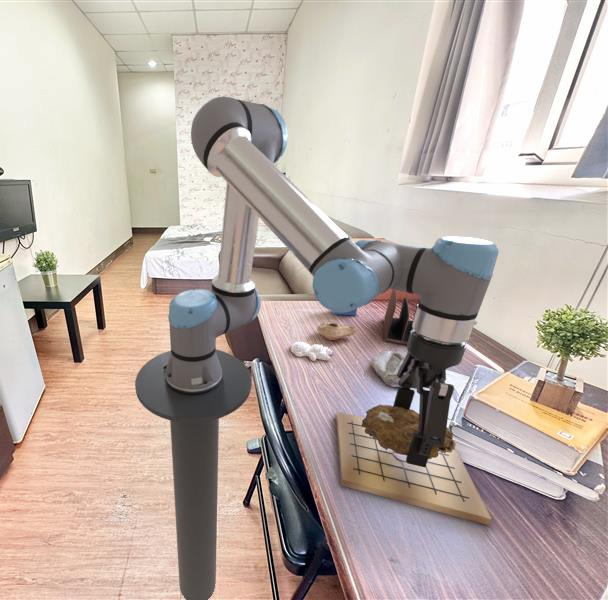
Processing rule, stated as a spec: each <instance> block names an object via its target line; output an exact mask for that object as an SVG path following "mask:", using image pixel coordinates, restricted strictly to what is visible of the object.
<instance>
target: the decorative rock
mask: <svg viewBox="0 0 608 600" xmlns="http://www.w3.org/2000/svg"><path fill="white" fill-rule="evenodd" d="M365 413H366V416H365V417H364V419H363V420H362V427H365V428H366V429H365V433H366V434H369V435H370V438H371V436H372V437H373V439H377V440H378V443H379V445H380V446H381V447H383V448H385V449H386V451H387V449H391V450H393V451H394V452H395V453H397V454H401V455H408V452H409V449H410V446H411V443H412V440H413V436H414V435H413V432H415V431H418V428H419V412H417V411H416V410H414V409H410V410H407V409H404V408H403V407H393V405H390V404H388V405H387V404H378V405H376V406H374V407H371V408H369V409H368V410H366V411H365ZM453 435H454V433H453V432H452V431H451V430H450V429H449V427H448V426H447V427H446V435H445V442H444V446H443V447H439V446H435V445H433V447H432V450H431V453H430V456H429V458H428V459H431V458H436V457H438V456H439V455H438V452H442V453H446V452H452V450H455V448H456V445H457V444H456V442H455V440H454V439H453V438H454V437H453Z"/></svg>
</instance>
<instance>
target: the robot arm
mask: <svg viewBox="0 0 608 600" xmlns="http://www.w3.org/2000/svg"><path fill="white" fill-rule="evenodd" d="M288 134H289V133H288V126H287V123H286V121H285V119H284V118H283V116H282V115H281V113H280V112H279V111H278V110H276V109H274V108H272V107H270V106H268V105H266V104H263V103H257V102H251V101H246V100H241V99H237V98H234V97H230V96H217V97H214V98H211V99H210V100H207V101H206V102H204V103H203V104H202V105H201V106H200V107H199V108H198V110H197V111H196V113H195V115H194V117H193V119H192V123H191V128H190V140H191V145H192V148H193V151H194V153H195V155H196V157H197V158H198V160H199V162H200V163H201V164H202V166H203V167H204V168H205V169H206V170H207V171H208V172H209V173H210V174H211V175H212V176H213V177H215V178H216V177H217V178H222V179H223V180H224V181H225V182H226V185H225V186H226V187H225V197H224V209H223V219H222V228H221V229H222V230H221V240H220V253H219V262H218V264H219V265H218V272H217V273H218V274H217V275H216V276H214V277H213V278H212V280H211V289H210V290H208V289H204V288H203V289H202V288H196V289H189V290H185V291H182V292H179V293H178V294H176V295H175V296H173V298H172V299H171V300H170V302H169V305H168V316H167V317H168V319H167V320H168V323H169V340H170V342H169V343H170V351H171V355H170V358H169V361H168V364H167V365H166V366H164V367H163V368H164V369H166V371H165V380H166V383H167V385H168V386H169V387H170V388H171V389H172V390H174V391H175V392H178V393H181V394H185V395H200V394H205V393H208V392H210V391H212V390H214V389H215V388H217V387H218V386H219V384H220V383H221V381H222V369H221V365H220V363H219V360H218V357H217V354H216V349H217V338H218V337H221V336H224V335H225V334H227V333H230V332H232V331H234V330H236V329H238V328H241V327H245V326H246V325H248V324H249V323H250V322H252V321H254V320H255V319H256V318H257V316H258V315H259V314H260V311H261V306H262V304H261V303H262V302H261V301H262V299H261V296H260V295H259V291H258V289H257V288H256V283H255V281H254V280H253V279H252V271H253V263H254V255H255V248H256V242H257V234H258V228H259V220H261V221H262V222H263V223H264V224H265V225H266V227H268V228H269V230H270V231H271V232H272V233H273V234H274V235H275V236H276V237H277V238H278V239H279V240H280V242H281V243H282V244H283V245H284V246H285V247H286V248H287V249H288V250H289V251H290V252H291V253H292V254H293V256H294V257H296V259H297V260H298V261H299V262H300V263H301V264H302V265H303V267H305V268H306V270H307V271H308V272H309V273H310V274H311V276H312V277H313V278H312V290H313V293H314V295H315V298H316V300H317V301H318V303H319V304H320V305H321V306H322V307H324V308H326V309H327V310H329V311H331V312H332V311H334V312H349V311H352V310H354V309H357V310H358V308H359V309H360V308H361V307H364V306H367V305H369V304H370V303H371V302H373V301H374V299H376V298H377V297H379V296H380V295H382V294H384V293H385V292H387V291H389V290H393V289H394V290H396V291H399V292H403V293H408V294H412V295H418V296H419V301H418V304H417V305H418V306H417V305H416V306H417V309H416V308H415V310H416V313H415V312H414V314H415V316H414V315H413V318H414V320H413V319H412V321H413V324H412V328H413V330H411V333H410V336H409V340H408V344H407V345H406V350H407V353H406V355H405V359H404V361H403V363H402V365H401V367H400V369H399V371H398V373H397V378H400V380H399V381H398V385H399V386H400V387H397V391H396V394H395V398H394V400H393V401H394V402H393V405H392V406H393V407H403V408H404V409H407V410H411V406H412V403H413V400H414V396H415V393H417V394H418V395H419V405H418V406H419V407H418V408H419V409H418V414H419V428H418V431H415V432H413V435H414V436H413V440H412V443H411V446H410V449H409V452H408V455H407V458H406V461H407V463H408V464H412V465H417V466H421V467H426V464H427V461H428V458H429V456H430V453H431V450H432V447H433V445H435V446H439V447H443V446H444V442H445V435H446V427H447V428H448V419H449V413H450V406H451V400H452V396H453V394H454V390H455V386H454V385H453V384H450V383H446V380H447V369H450V368H452V367H456V366H458V365H459V364H461V363H462V361H463V358H464V355H465V352H466V349H467V347H468V343H467V342H468V341H469V339H470V336H471V334H472V331H473V328H474V326H476V325H477V324H478V320H477V318H478V315H479V313H480V309H481V307H482V305H483V301H484V299H485V296H486V293H487V291H488V288H489V285H490V283H491V281H492V278H493V276H494V274H493V273H494V270H495V266H496V263H497V260H498V255H499V248H498V246H497V244H495V243H494V242H493V241H489V240H485V239H480V238H475V237H467V236H442V237H439V238H437V239H436V240H435V243H434V245H433V246H432V247H419V246H412V245H406V244H400V243H393V242H385V241H382V240H377V239H376V240H368V239H367V240H366V239H360V240H357V241H353V240H352V239H351V238H350V237H349V236H348V234H347V233H345V232H344V231H343V230H342V229H341V228H340V227H339V226H338V225H337V224H336V223H335V222H334V221H333V220H332V219H331V218H329V216H327V215H326V213H325V212H324V211H322V210H321V208H319V207H318V206H317V205H316V204H315V202H313V201H312V200H311V199H310V198H309V197H308V196H307V195H306V194H305V193H304V192H303V191H302V190H301V189H300V188H299V187H298V186H297V185H296V184H294V182H293V181H292V180H291V179H290V178H289V177H288V176H286V175H285V173H284V172H282V171H281V170H280V169H279V168H278V167H277V166H276V165H275V164H276V163H277V162H278V161H279V160H280V158H281V157H282V156H283V155H284V154H285V151H286V150H287V149H286V148H287V145H288V139H289V138H288V137H289V135H288ZM414 389H415V390H416V392H415V390H414ZM427 389H429V390H427Z"/></svg>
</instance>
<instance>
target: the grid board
mask: <svg viewBox="0 0 608 600" xmlns="http://www.w3.org/2000/svg"><path fill="white" fill-rule="evenodd" d="M335 414H336V415H335V421H336V435H337V446H338V447H337V449H338V458H339V460H338V461H339V472H340V485H341V486H342V487H346V488H350V489H353V490H357V491H361V492H364V493H368V494H372V495H376V496H379V497H383V498H387V499H390V500H394V501H397V502H401V503H405V504H409V505H412V506H416V507H419V508H424V509H427V510H431V511H434V512H438V513H442V514H445V515H449V516H453V517H457V518H459V519H460V518H461V519H463V520H467V521H471V522H475V523H480V524H483V525H486V526H489V525H490V524H491V522H492V520H493V519H492V517H491V515H490V513H489V511H488V509H487V507H486V505H485V503H484V501H483V499H482V497H481V495H480V493H479V491H478V489H477V487H476V486H475V483H474V482H473V480H472V478H471V476H470V473H469V471H468V469H467V468H466V465H465V464H464V462H463V460H462V458H461V456H460V454H459V452H458V451H457V449H456V450H452V452H446V453H442V452H438V455H439V456H438V457H436V458H431V459H428V461H427V464H426V467H421V466H417V465H412V464H408V463H407V461H406V458H407V455H401V454H397V453H395V452H394V451H393V450H391V449H387V451H386V449H385V448H383V447H381V446H380V445H379V443H378V440H377V439H373V437H372V436H371V438H370V435H369V434H366V433H365V429H366V428H365V427H362V420H363V419H364V418H365V417H363V416H360V415H353V414H349V413H344V412H339V411H336V413H335Z"/></svg>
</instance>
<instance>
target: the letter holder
mask: <svg viewBox="0 0 608 600" xmlns="http://www.w3.org/2000/svg"><path fill="white" fill-rule="evenodd" d="M391 290H392V291H391V294H390V297H389V300H388V303H387V307H386V311H385V314H384V318H383V321H384V324H383V326H384V328H383V329H384V335H383V336H384V337H383V340H384V342H390V343H395V344H399V345H404V346H407V344H408V340H409V336H410V333H411V330H413V328H412V324H413V320H414V316H415V313H416V309H417V306H418V304H417V305H416V306H415V309H414V310H415V311H414V314H413V319H412V320H410V307H409V301H408V298H407V297H406V296H405V297H403V300H402V304H401V307H400V312H399V316H398V317H394V315H395V312H396V309H397V290H394V289H391Z"/></svg>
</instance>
